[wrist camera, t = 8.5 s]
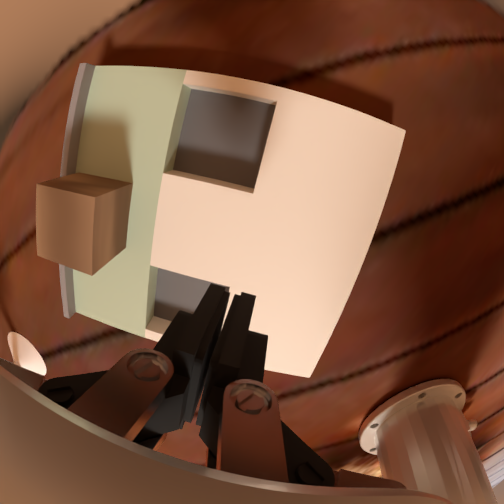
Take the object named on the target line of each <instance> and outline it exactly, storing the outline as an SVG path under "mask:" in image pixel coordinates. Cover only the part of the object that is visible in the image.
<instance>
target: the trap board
mask: <svg viewBox="0 0 504 504" xmlns="http://www.w3.org/2000/svg"><path fill="white" fill-rule="evenodd" d="M405 132H406V131H405V130H403V129H401V128H399V127H396V126H394V125H392V124H389V123H387V122H385V121H382V120H380V119H377V118H375V117H372V116H370V115H367V114H365V113H362V112H359V111H357V110H354V109H351V108H348V107H345V106H343V105H340V104H337V103H334V102H331V101H328V100H325V99H321V98H318V97H315V96H311V95H308V94H305V93H301V92H297V91H294V90H290V89H286V88H282V87H278V86H274V85H270V84H266V83H261V82H257V81H252V80H247V79H242V78H237V77H231V76H226V75H219V74H213V73H206V72H199V71H191V70H182V69H172V68H160V67H144V66H94V65H91V64H88V63H80V66H79V69H78V73H77V77H76V81H75V85H74V90H73V94H72V99H71V103H70V108H69V114H68V119H67V125H66V131H65V138H64V145H63V153H62V162H61V173H60V177H63V176H67V175H71V174H75V173H79V172H80V173H85V174H90V175H95V176H100V177H105V178H110V179H115V180H120V181H125V182H130V183H133V188H132V195H131V203H130V211H129V220H128V230H127V241H126V248H125V249H124V250H123V251H121V252H120V253H119V254H118V255H117V256H115V257H114V258H113V259H112V260H111V261H109V262H108V263H107V264H106V265H105V266H103V267H102V268H101V269H100V270H99V271H98V272H96V273H95V274H94V275H93V276H91V275H88V274H85V273H82V272H80V271H77V270H74V269H72V268H69V267H66V266H64V265H61V264H59V270H60V283H61V294H62V303H63V311H64V317H67V318H70V317H71V316H72V315H73V314H74V313H75V312H78V313H80V314H82V315H85V316H87V317H90V318H92V319H95V320H98V321H100V322H103V323H105V324H108V325H111V326H113V327H116V328H119V329H122V330H124V331H127V332H130V333H133V334H136V335H139V336H142V337H145V338H148V339H151V340H154V341H157V342H159V340H160V338H161V337H162V335H163V334H164V332H165V331H166V329H167V328H168V326H169V325H170V323H171V322H172V320H173V319H174V317H175V316H176V314H177V313H178V311H179V310H182V311H185V312H188V313H192V314H193V313H194V312H195V310H196V308H197V306H198V305H199V303H200V301H201V299H202V298H203V296H204V294H205V292H206V291H207V289H208V287H209V285H210V284H211V283H213V284H216V285H220V286H223V287H226V289H225V291H227V292H230V297H229V301H228V305H227V309H226V313H225V317H224V321H223V324H224V322H225V319H226V316H227V314H228V311H229V308H230V306H231V303H232V300H233V297H234V295H235V294H237V295H241V292H245V293H248V294H252V295H255V296H256V299H255V304H254V308H253V313H252V317H251V322H250V326H249V330H250V331H254V332H258V333H261V334H265V335H268V343H267V351H266V360H265V368H264V369H265V370H270V371H275V372H280V373H285V374H291V375H297V376H303V377H310V376H311V374H312V372H313V370H314V368H315V366H316V364H317V362H318V360H319V358H320V356H321V355H322V353H323V351H324V349H325V347H326V345H327V343H328V340H329V338H330V336H331V334H332V332H333V330H334V328H335V326H336V324H337V322H338V320H339V317H340V315H341V313H342V311H343V309H344V306H345V304H346V302H347V300H348V297H349V295H350V293H351V290H352V288H353V286H354V283H355V281H356V279H357V276H358V274H359V271H360V269H361V266H362V264H363V261H364V259H365V256H366V254H367V251H368V249H369V246H370V243H371V241H372V238H373V235H374V232H375V230H376V227H377V224H378V221H379V218H380V216H381V213H382V210H383V207H384V204H385V201H386V198H387V195H388V192H389V188H390V185H391V182H392V179H393V175H394V172H395V169H396V165H397V162H398V158H399V155H400V151H401V147H402V144H403V140H404V136H405ZM222 327H223V325H222ZM221 330H222V329H221Z"/></svg>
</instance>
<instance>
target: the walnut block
mask: <svg viewBox="0 0 504 504" xmlns="http://www.w3.org/2000/svg"><path fill="white" fill-rule="evenodd" d="M132 188H133V183H130V182H125V181H120V180H115V179H110V178H105V177H100V176H95V175H90V174H85V173H80V172H79V173H75V174H71V175H67V176H63V177H59V178H56V179H52V180H49V181H45V182H42V183H38V184H37V187H36V239H37V255H38V256H40V257H43V258H45V259H48V260H50V261H53V262H56V263H58V264H61V265H64V266H66V267H69V268H72V269H74V270H77V271H80V272H82V273H85V274H88V275H91V276H93V275H94V274H95V273H96V272H98V271H99V270H100V269H101V268H102V267H103V266H105V265H106V264H107V263H108V262H109V261H111V260H112V259H113V258H114V257H115V256H117V255H118V254H119V253H120V252H121V251H123V250H124V249H125V248H126V241H127V230H128V220H129V211H130V203H131V195H132Z"/></svg>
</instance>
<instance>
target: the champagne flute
mask: <svg viewBox="0 0 504 504" xmlns="http://www.w3.org/2000/svg"><path fill="white" fill-rule="evenodd" d="M8 343H9V346H10V350H11V353H12V356H13V359H14V362H13V364H15V365H18V366H20V367H23V368H25V369H28V370H30V371H33V372H35V373H38V374H41V375H45V374H46V366H45V363H44V361H43V359H42V357H41V356H40V354H39V353H38V351H37V350H36V349H35V348H34V346H33V345H32V344H31V343H30V342H29V341H28V340H27V339H26V338H24V337H23V336H22V335H20V334H18V333H16V332H10V333H9V334H8Z"/></svg>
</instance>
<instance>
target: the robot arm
mask: <svg viewBox="0 0 504 504" xmlns="http://www.w3.org/2000/svg"><path fill="white" fill-rule="evenodd" d="M225 289H226V287H223V286H220V285H216V284H213V283H211V284H210V285H209V287H208V289H207V291H206V292H205V294H204V296H203V298H202V299H201V301H200V303H199V305H198V306H197V308H196V310H195V312H194V313H193V314H192V313H188V312H185V311H182V310H179V311H178V313H177V314H176V316H175V317H174V319H173V320H172V322H171V323H170V325H169V326H168V328H167V329H166V331H165V332H164V334H163V335H162V337H161V338H160V340H159V342H158V343H157V345H156V346H155V348H154V349H146V348H144V349H136V350H132V351H130V352H129V353H127V354H126V355H124V356H123V357H122V358H121V359H120V360H119V361H118V362H117V363H116V364H115V365H114V366H113V367H112V368H111V369H109V370H107V371H100V372H94V373H87V374H80V375H73V376H65V377H57V378H53V379H49V380H45V377H44V375H41V374H38V373H35V372H33V371H30V370H28V369H25V368H23V367H20V366H18V365H15V364H13V363H11V362H8V361H6V360H4V359H2V358H0V504H497V501H496V498H495V495H494V492H493V490H492V487H491V484H490V482H489V479H488V476H487V474H486V471H485V469H484V466H483V464H482V461H481V459H480V457H479V454H478V452H477V450H476V447H475V445H474V443H473V441H472V438H471V432H470V431H471V430H474V429H475V428H476V427H477V421H476V420H475V419H473V420H467V421H466V419H465V417H464V415H463V413H462V409H463V407H464V404H465V401H466V394H465V391H464V389H463V387H462V386H461V384H460V383H459V382H457V381H455V380H452V379H437V380H431V381H427V382H424V383H421V384H418V385H416V386H413V387H411V388H409V389H407V390H404V391H402V392H400V393H399V394H397V395H395V396H394V397H392V398H390V399H389V400H387V401H386V402H384V403H383V404H382V405H380V406H379V407H378V408H377V409H376V410H374V411H373V412H372V413H371V414H370V415H369V416H368V417H367V419H366V420H365V421H364V422H363V424H362V426H361V427H360V430H359V441H360V445H361V447H362V448H363V450H365V451H366V452H368V453H371V454H375V455H378V459H379V464H380V468H381V473H382V478H379V477H374V476H369V475H365V474H360V473H356V472H351V471H347V470H343V469H340V470H339V471H334V470H332V468H331V467H330V466H329V465H328V464H327V463H326V462H325V461H324V460H323V459H322V458H321V457H320V456H319V455H317V454H316V453H315V452H314V451H313V450H312V449H311V448H310V447H309V446H308V445H306V444H305V443H304V442H303V441H302V440H301V439H300V438H299V437H298V436H297V435H296V434H295V433H294V432H293V431H292V430H291V429H290V428H289V427H288V426H287V425H285V424H284V423H283V422H282V421H281V420H280V412H279V405H278V400H277V397H276V395H275V393H274V392H273V391H272V389H270V388H269V387H268V386H266V385H265V384H263V376H264V368H265V360H266V351H267V343H268V335H265V334H261V333H258V332H254V331H250V330H249V326H250V322H251V317H252V313H253V308H254V304H255V299H256V296H255V295H252V294H248V293H245V292H241V295H237V294H235V295H234V297H233V300H232V303H231V306H230V308H229V311H228V314H227V316H226V319H225V322H224V324H223V321H224V317H225V313H226V309H227V305H228V301H229V297H230V292H227V291H225ZM222 325H223V327H222ZM221 329H222V330H221ZM203 388H204V390H203ZM202 390H203V394H202V399H201V403H200V408H199V412H198V417H197V421H196V425H200V426H201V429H200V433H199V436H200V437H201V439H202V440H203V442H204V443H205V444H206V446H207V451H206V462H205V467H204V466H201V465H197V464H194V463H190V462H187V461H184V460H181V459H177V458H174V457H171V456H168V455H166V454H163V453H160V452H157V451H158V449H159V448H160V446H161V445H162V443H163V442H164V440H165V439H166V436H167V433H168V432H171V431H174V430H177V429H182V428H183V425H184V422H185V421H187V422H190V423H191V421H192V418H193V416H194V413H195V410H196V407H197V404H198V402H199V399H200V396H201V393H202Z"/></svg>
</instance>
